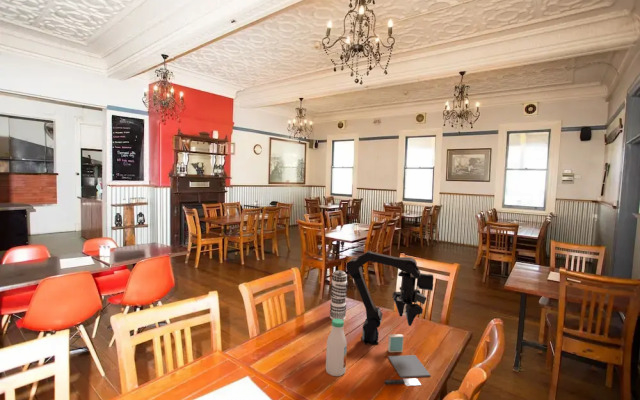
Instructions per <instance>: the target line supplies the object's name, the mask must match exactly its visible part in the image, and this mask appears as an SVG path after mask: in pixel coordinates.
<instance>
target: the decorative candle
mask: <svg viewBox="0 0 640 400" xmlns="http://www.w3.org/2000/svg"><path fill="white" fill-rule="evenodd" d="M331 274H332V279H331V283H330V297H331V300H330V307H329V308H330V309H329V318H330V319H331V320H333V319H341V320H343V321H344V320H346V316H347V313H346V312H347V311H346V310H347V303H346V301H347V300H346V299H347V296H348V294H347V293H348V286H349V285H348V281H347V278H348V277H347V276H348V274H347V273H346V272H345V271H344V270H335V271H333V273H331Z"/></svg>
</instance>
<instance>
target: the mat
mask: <svg viewBox="0 0 640 400" xmlns="http://www.w3.org/2000/svg"><path fill="white" fill-rule="evenodd" d="M387 358H388V359H389V361H390V363H391V365H392V367H393V368H394V370H395V371H396V373H397V374H398V376H399V377H400V378H399V379H407V378H426V377H428V376H429V377H431V373H430V372H429V371H428V370H427V368H426V367H425V365H424V364H422V362H421V361H420V359H419V358H418V357H417V355H416V354H413V355H412V354H409V355H408V354H407V355H388V357H387Z"/></svg>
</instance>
